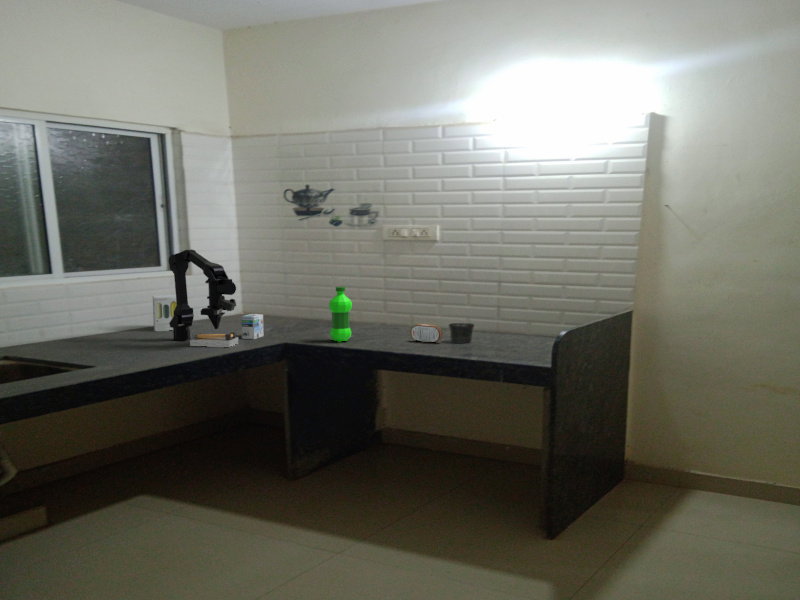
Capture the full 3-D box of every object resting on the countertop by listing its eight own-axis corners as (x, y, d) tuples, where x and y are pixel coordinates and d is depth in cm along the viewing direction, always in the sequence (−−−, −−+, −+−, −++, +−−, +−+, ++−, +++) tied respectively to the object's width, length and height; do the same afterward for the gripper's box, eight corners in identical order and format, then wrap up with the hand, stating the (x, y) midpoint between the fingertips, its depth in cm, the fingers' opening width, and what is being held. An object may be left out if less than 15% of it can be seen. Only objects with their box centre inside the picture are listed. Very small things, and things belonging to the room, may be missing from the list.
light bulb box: (254, 339, 296) (254, 316, 295) (241, 339, 297) (240, 316, 296) (264, 336, 306) (263, 313, 305) (251, 335, 308) (250, 313, 307)
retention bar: (195, 338, 279) (195, 335, 279) (198, 337, 283) (198, 334, 282) (230, 337, 277) (230, 334, 277) (233, 336, 280) (232, 333, 280)
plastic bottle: (356, 341, 292) (356, 287, 289) (339, 344, 284) (339, 288, 281) (341, 338, 298) (341, 285, 296) (324, 341, 291) (324, 287, 288)
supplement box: (154, 331, 319) (153, 297, 317) (153, 328, 331) (152, 295, 329) (182, 330, 324) (181, 296, 322) (180, 326, 336) (179, 294, 334)
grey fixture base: (190, 346, 277) (189, 334, 276) (200, 342, 286) (199, 330, 286) (229, 347, 274) (229, 335, 274) (238, 343, 284) (238, 331, 284)
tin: (442, 343, 287) (442, 324, 286) (440, 344, 284) (440, 325, 284) (412, 340, 294) (412, 322, 293) (409, 341, 291) (409, 323, 290)
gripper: (224, 296, 268) (225, 332, 269) (241, 292, 286) (242, 326, 288) (199, 295, 269) (200, 332, 271) (217, 291, 287) (218, 325, 289)
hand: (216, 329), depth 279 cm, fingers closed
